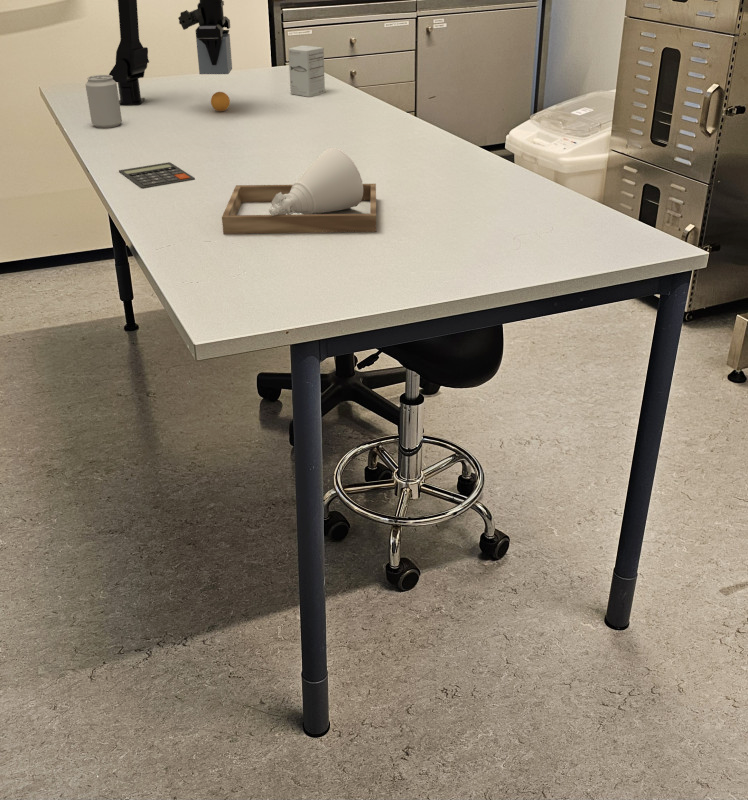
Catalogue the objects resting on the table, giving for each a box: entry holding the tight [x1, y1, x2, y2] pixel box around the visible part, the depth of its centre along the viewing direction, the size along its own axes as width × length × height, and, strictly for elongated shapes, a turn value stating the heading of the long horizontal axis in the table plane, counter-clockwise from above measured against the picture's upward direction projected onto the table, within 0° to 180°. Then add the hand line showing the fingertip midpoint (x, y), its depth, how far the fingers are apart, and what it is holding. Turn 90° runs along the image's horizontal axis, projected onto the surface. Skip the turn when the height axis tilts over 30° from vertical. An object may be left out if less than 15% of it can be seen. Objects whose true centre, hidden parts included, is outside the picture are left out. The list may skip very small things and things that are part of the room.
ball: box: [210, 91, 231, 112], centre depth 246 cm, size 5×5×5 cm
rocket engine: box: [268, 147, 364, 216], centre depth 167 cm, size 12×12×18 cm
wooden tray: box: [221, 183, 377, 235], centre depth 170 cm, size 19×27×3 cm
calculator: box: [118, 162, 196, 189], centre depth 195 cm, size 12×1×15 cm
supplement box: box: [288, 44, 326, 98], centre depth 262 cm, size 7×7×13 cm
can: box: [85, 74, 123, 129], centre depth 232 cm, size 8×8×12 cm
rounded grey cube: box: [195, 33, 233, 75], centre depth 240 cm, size 8×8×9 cm
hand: (216, 62), depth 241 cm, fingers closed on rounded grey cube, 7 cm apart
